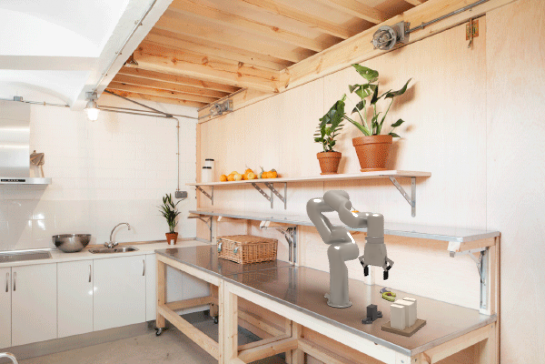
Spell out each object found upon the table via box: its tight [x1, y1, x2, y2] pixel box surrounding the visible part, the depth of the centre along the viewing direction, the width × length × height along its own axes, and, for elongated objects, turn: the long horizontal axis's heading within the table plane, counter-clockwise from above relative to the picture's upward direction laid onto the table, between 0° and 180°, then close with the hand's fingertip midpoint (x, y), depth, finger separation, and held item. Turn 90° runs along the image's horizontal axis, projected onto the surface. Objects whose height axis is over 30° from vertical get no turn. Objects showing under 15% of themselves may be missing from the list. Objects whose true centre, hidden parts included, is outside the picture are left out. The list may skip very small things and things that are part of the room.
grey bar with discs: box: [361, 303, 383, 325], centre depth 169 cm, size 5×16×6 cm, turn 138°
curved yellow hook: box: [379, 286, 397, 302], centre depth 208 cm, size 8×3×25 cm
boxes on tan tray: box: [380, 297, 427, 338], centre depth 159 cm, size 12×19×10 cm, turn 138°
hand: (375, 277), depth 169 cm, fingers open, 9 cm apart
